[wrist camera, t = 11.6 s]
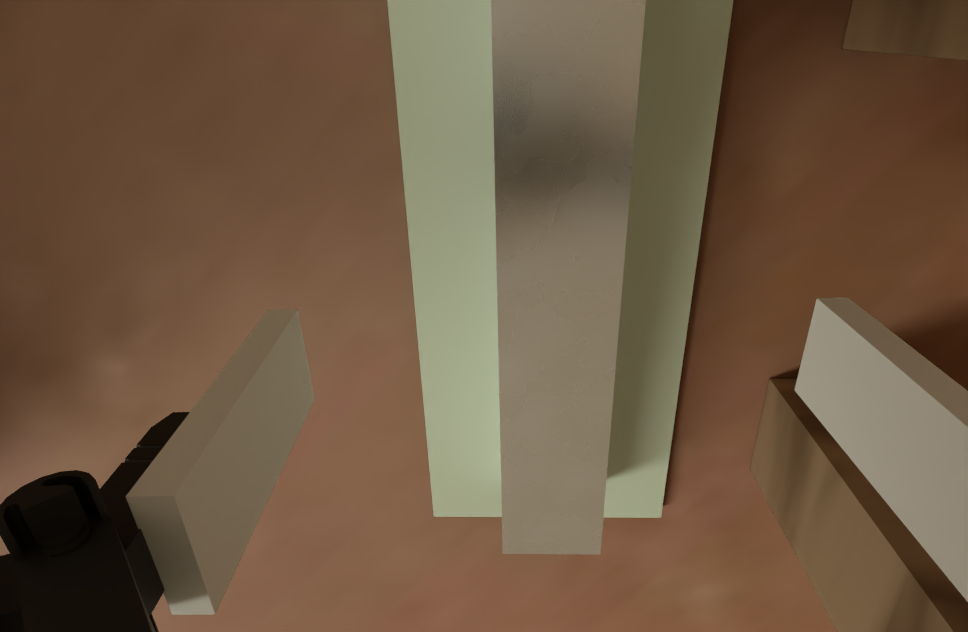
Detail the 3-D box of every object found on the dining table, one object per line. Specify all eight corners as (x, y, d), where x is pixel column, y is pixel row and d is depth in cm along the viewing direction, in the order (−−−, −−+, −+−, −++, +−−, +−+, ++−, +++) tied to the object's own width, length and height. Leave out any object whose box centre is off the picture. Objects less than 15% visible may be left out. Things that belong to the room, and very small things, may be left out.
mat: (435, 507, 30) (433, 516, 29) (371, -220, 17) (366, -228, 17) (658, 508, 29) (660, 517, 29) (760, -240, 17) (768, -249, 16)
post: (749, 468, 28) (911, 770, 17) (769, 378, 26) (972, 657, 14) (903, 469, 28) (1173, 776, 16) (937, 377, 25) (1276, 662, 14)
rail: (588, 485, 28) (600, 554, 24) (503, 485, 28) (502, 553, 24) (629, -151, 17) (661, -196, 14) (491, -145, 17) (487, -187, 14)
